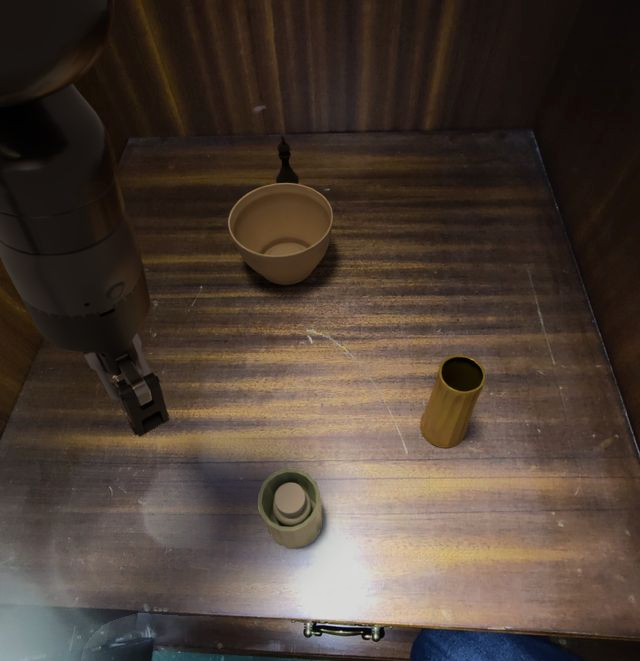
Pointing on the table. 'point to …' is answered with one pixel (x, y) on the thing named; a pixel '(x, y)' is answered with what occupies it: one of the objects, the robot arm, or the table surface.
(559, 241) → the table surface
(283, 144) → the chess piece
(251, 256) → the planter bowl
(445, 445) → the vase
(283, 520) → the pill bottle
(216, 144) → the table surface
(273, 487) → the cup
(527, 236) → the table surface
